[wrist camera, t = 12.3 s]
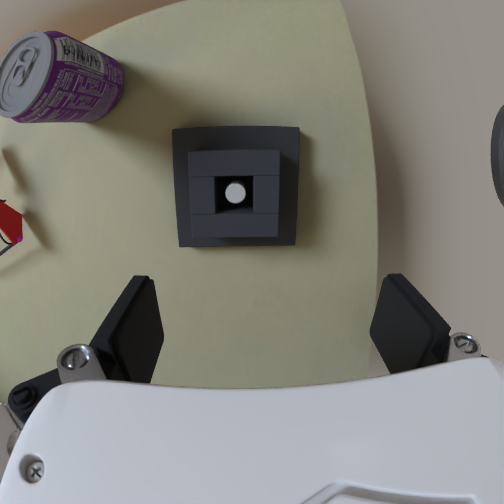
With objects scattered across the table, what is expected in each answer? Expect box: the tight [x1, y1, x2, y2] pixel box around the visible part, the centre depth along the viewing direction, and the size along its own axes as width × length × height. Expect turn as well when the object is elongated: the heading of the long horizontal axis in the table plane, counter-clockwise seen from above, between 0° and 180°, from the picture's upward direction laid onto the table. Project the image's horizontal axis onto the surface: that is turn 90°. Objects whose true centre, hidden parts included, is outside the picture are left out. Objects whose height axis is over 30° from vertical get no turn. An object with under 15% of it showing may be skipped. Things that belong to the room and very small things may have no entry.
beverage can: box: [0, 31, 124, 123], centre depth 15 cm, size 7×7×12 cm
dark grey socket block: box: [188, 149, 280, 238], centre depth 23 cm, size 7×7×3 cm
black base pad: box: [172, 126, 299, 247], centre depth 24 cm, size 11×11×4 cm
